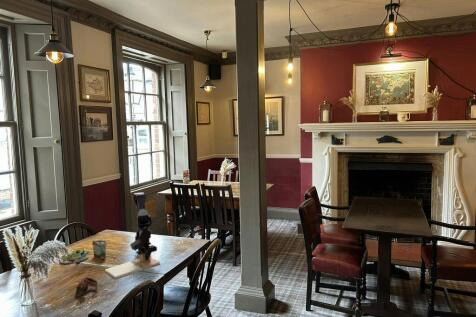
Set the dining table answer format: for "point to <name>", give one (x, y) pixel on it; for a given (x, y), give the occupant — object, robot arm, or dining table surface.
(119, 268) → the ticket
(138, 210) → the robot arm
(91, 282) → the pottery mug
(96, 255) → the food container
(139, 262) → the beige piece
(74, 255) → the salad plate
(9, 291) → the dining table surface
